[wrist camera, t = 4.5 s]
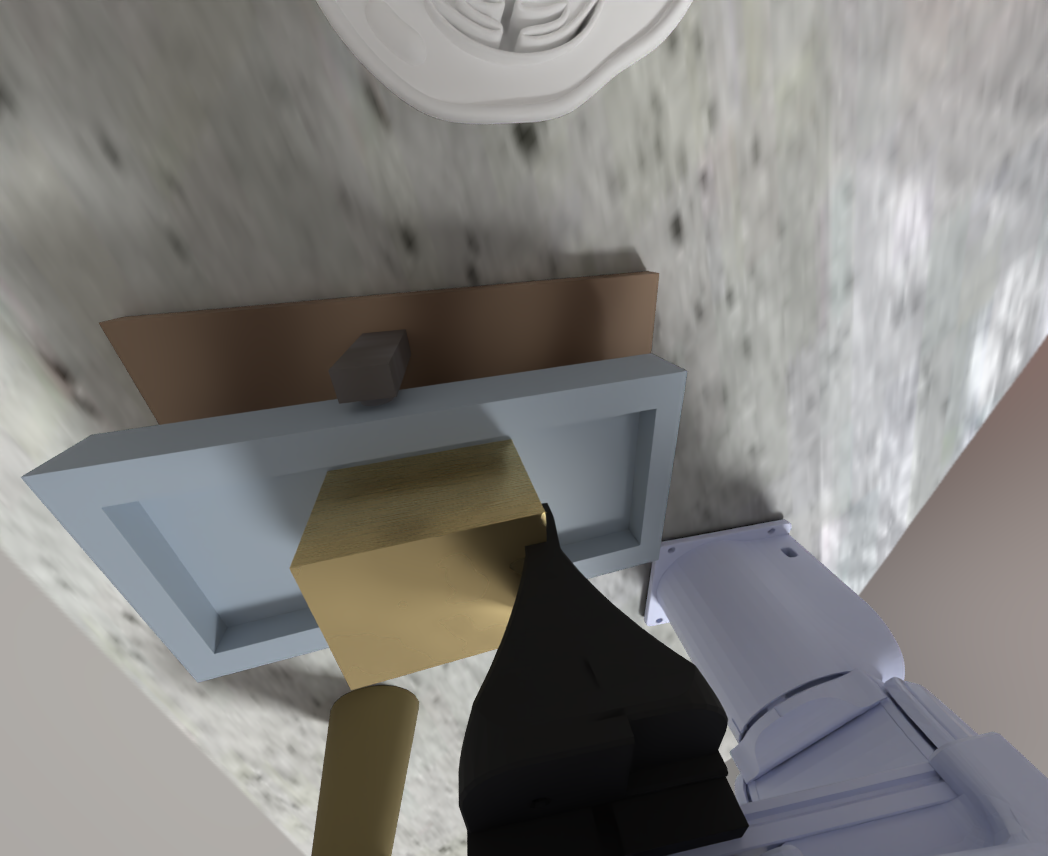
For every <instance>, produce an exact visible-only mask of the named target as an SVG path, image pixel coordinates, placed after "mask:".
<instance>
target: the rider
mask: <svg viewBox="0 0 1048 856" xmlns="http://www.w3.org/2000/svg"><path fill="white" fill-rule="evenodd" d="M546 541H547V537H546V512H545V510H544V508H543V506H542V504H541V502H540V499H539V497H538V495H537V493H536V491H535V489H534V486H533V484H532V482H531V480H530V478H529V476H528V474H527V471H526V469H525V467H524V465H523V463H522V461H521V458H520V456H519V454H518V452H517V450H516V448H515V446H514V443H513V441H512V439H509V440H503V441H497V442H492V443H486V444H480V445H475V446H469V447H463V448H458V449H452V450H446V451H440V452H435V453H429V454H423V455H418V456H412V457H406V458H401V459H395V460H389V461H384V462H378V463H372V464H367V465H361V466H355V467H350V468H344V469H338V470H332V471H327V474H326V476H325V479H324V481H323V484H322V486H321V489H320V492H319V494H318V497H317V499H316V502H315V504H314V507H313V509H312V512H311V514H310V517H309V520H308V522H307V525H306V527H305V530H304V532H303V535H302V537H301V540H300V543H299V545H298V548H297V550H296V553H295V555H294V558H293V560H292V563H291V565H290V568H289V569H290V571H291V573H292V575H293V577H294V579H295V581H296V583H297V585H298V587H299V589H300V591H301V593H302V595H303V596H304V598H305V600H306V602H307V604H308V606H309V608H310V610H311V612H312V614H313V616H314V618H315V620H316V622H317V624H318V626H319V628H320V630H321V632H322V634H323V636H324V638H325V640H326V642H327V644H328V646H329V648H330V650H331V652H332V654H333V656H334V657H335V659H336V661H337V663H338V665H339V667H340V669H341V671H342V673H343V675H344V677H345V679H346V681H347V683H348V685H349V687H350V689H351V690H354V689H358V688H361V687H365V686H368V685H372V684H375V683H379V682H382V681H386V680H389V679H393V678H396V677H400V676H403V675H407V674H410V673H414V672H417V671H421V670H424V669H428V668H431V667H435V666H438V665H442V664H445V663H449V662H452V661H456V660H459V659H463V658H466V657H470V656H473V655H477V654H480V653H484V652H487V651H491V650H494V649H498V647H499V645H500V643H501V640H502V638H503V635H504V632H505V630H506V627H507V624H508V621H509V618H510V615H511V612H512V609H513V606H514V602H515V599H516V595H517V592H518V588H519V584H520V580H521V576H522V571H523V565H524V560H525V546H528V545H533V544H537V543H542V542H546Z"/></svg>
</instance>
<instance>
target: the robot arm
mask: <svg viewBox="0 0 1048 856" xmlns="http://www.w3.org/2000/svg"><path fill="white" fill-rule="evenodd" d="M541 504H542V506H543V508H544V510H545V512H546V537H547V541H546V542H542V543H537V544H533V545H528V546H525V560H524V565H523V571H522V576H521V580H520V584H519V588H518V592H517V595H516V599H515V602H514V606H513V609H512V612H511V615H510V618H509V621H508V624H507V627H506V630H505V632H504V635H503V638H502V640H501V643H500V645H499V647H498V650H497V652H496V655H495V657H494V660H493V662H492V665H491V667H490V669H489V671H488V673H487V675H486V678H485V680H484V682H483V684H482V686H481V688H480V690H479V692H478V694H477V696H476V698H475V700H474V703H473V705H472V710H471V714H470V717H469V721H468V725H467V728H466V732H465V737H464V741H463V745H462V750H461V756H460V763H459V808H460V811H461V814H462V816H463V819H464V822H465V825H466V828H467V856H1048V778H1047V777H1046V776H1045V775H1044V774H1042V773H1041V772H1040V771H1039V770H1038V769H1037V768H1036V767H1035V766H1034V765H1033V764H1032V763H1031V762H1030V761H1029V760H1027V759H1026V758H1025V757H1024V756H1023V755H1022V754H1021V753H1020V752H1019V751H1018V750H1017V749H1016V748H1015V747H1014V746H1012V745H1011V744H1010V743H1009V742H1008V741H1007V740H1006V739H1005V738H1004V737H1003V736H1002V735H1001V734H999V733H996V732H989V733H985V734H980V735H978V734H977V733H976V732H975V731H974V730H973V729H972V728H971V727H969V726H968V725H967V724H966V723H965V722H964V721H963V720H962V719H961V718H960V717H959V716H957V715H956V714H955V713H954V712H953V711H952V710H951V709H950V708H948V707H947V706H946V705H945V704H944V703H943V702H942V701H940V700H939V699H938V698H937V697H936V696H935V695H933V694H932V693H931V692H930V691H928V690H927V689H926V688H925V687H923V686H922V685H920V684H916V683H912V682H908V681H904V676H905V666H904V660H903V655H902V653H901V650H900V648H899V646H898V644H897V642H896V640H895V638H894V636H893V635H892V633H891V631H890V630H889V628H888V627H887V625H886V624H885V623H884V621H883V620H882V619H881V617H880V616H879V615H878V614H877V613H876V612H875V611H874V610H873V609H872V608H871V607H870V606H869V605H868V604H867V603H866V602H865V601H864V600H863V599H862V598H861V597H859V596H858V595H857V594H856V593H855V592H854V591H853V590H851V589H850V588H849V587H848V586H847V585H846V584H845V583H844V582H842V581H841V580H840V579H839V578H838V577H837V576H836V575H834V574H833V573H832V572H831V571H830V570H829V569H828V568H826V567H825V566H824V565H823V564H822V563H821V562H820V561H819V560H817V559H816V558H815V557H814V556H813V555H812V554H811V553H809V552H808V551H807V550H806V549H805V548H804V547H803V546H802V545H800V544H799V543H798V542H797V541H796V540H795V539H794V538H792V537H791V536H790V535H789V532H790V530H791V523H790V522H788V521H787V520H778V521H772V522H767V523H761V524H756V525H751V526H745V527H740V528H734V529H729V530H723V531H718V532H713V533H707V534H702V535H696V536H691V537H686V538H680V539H675V540H669V541H664V542H661V547H660V553H659V559H658V560H656V561H652V567H651V574H650V581H649V588H648V595H647V602H646V609H645V616H644V621H645V623H646V625H648V626H654V625H659V624H664V623H668V622H670V624H671V625H672V627H673V629H674V631H675V632H676V634H677V636H678V638H679V639H680V641H681V643H682V645H683V646H684V648H685V650H686V652H687V654H688V655H689V657H690V659H691V661H692V662H693V663H691V662H689V661H688V660H686V659H685V658H683V657H682V656H680V655H679V654H677V653H676V652H674V651H673V650H671V649H670V648H669V647H667V646H666V645H664V644H663V643H661V642H660V641H659V640H657V639H656V638H655V637H653V636H652V635H651V634H649V633H648V632H646V631H645V630H644V629H642V628H641V627H640V626H639V625H637V624H636V623H635V622H634V621H633V620H631V619H630V618H629V617H628V616H627V615H625V614H624V613H623V612H622V611H621V610H619V609H618V608H617V607H616V606H615V605H613V604H612V603H611V602H610V601H609V600H608V599H607V598H606V597H605V596H604V595H603V594H602V593H600V592H599V591H598V590H597V589H596V588H595V587H594V586H593V585H592V584H591V583H590V582H589V581H588V579H587V578H586V577H585V576H584V575H583V574H582V573H581V572H580V571H579V570H578V569H577V567H576V566H575V565H574V564H573V563H572V562H571V560H570V559H569V558H568V557H567V556H566V554H565V553H564V552H563V551H562V549H561V548H560V543H559V538H558V534H557V529H556V525H555V520H554V516H553V514H552V512H551V509H550V507H549V505H548V503H541ZM727 724H728V726H729V728H730V729H731V731H732V733H733V735H734V737H735V738H736V740H737V742H738V745H737V746H736V747H735V748H733V749H732V750H731V751H730V755H731V756H732V758H733V760H734V762H735V764H736V766H737V767H738V769H739V771H740V774H739V775H738V776H737V778H736V780H735V795H734V793H733V791H732V789H731V787H730V785H729V783H728V781H727V779H726V776H727V775H728V771H727V767H726V765H725V763H724V761H723V759H722V757H721V755H720V753H719V751H718V749H719V746H720V744H721V742H722V739H723V737H724V735H725V732H726V728H727Z"/></svg>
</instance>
